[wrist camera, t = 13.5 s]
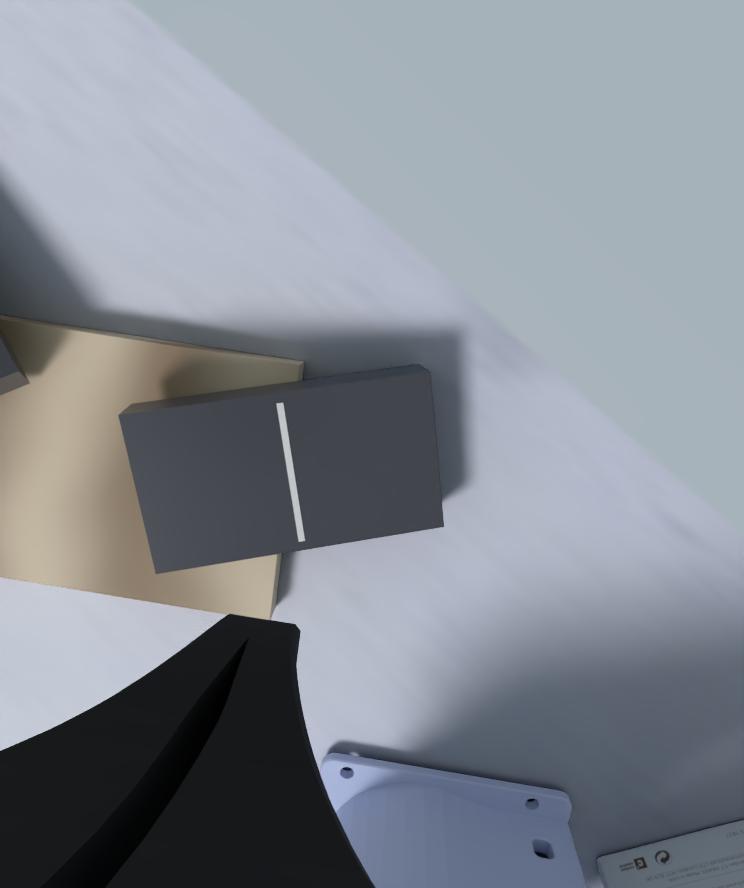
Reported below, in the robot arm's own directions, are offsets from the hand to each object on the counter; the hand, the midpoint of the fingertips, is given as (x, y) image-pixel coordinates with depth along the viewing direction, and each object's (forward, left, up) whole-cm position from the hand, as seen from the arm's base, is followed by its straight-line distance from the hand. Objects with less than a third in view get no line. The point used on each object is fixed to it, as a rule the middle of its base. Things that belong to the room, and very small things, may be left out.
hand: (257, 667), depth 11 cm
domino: (+5, 0, -8) cm, 9 cm away
